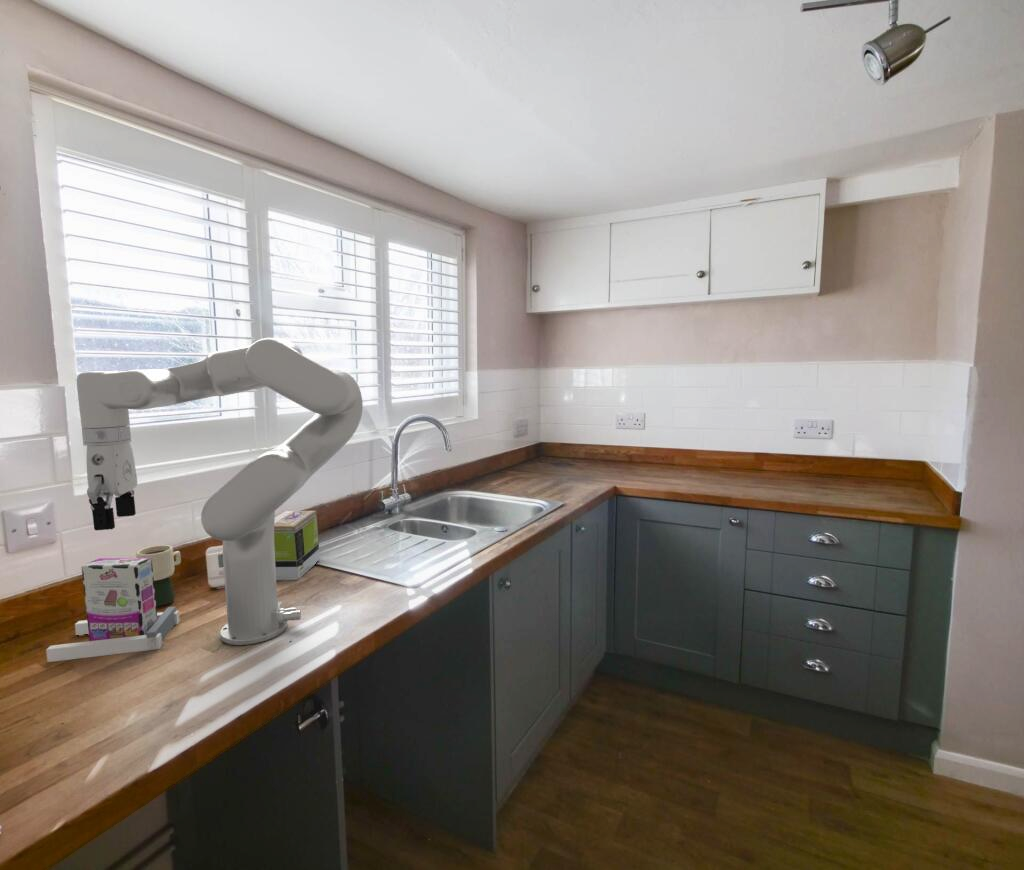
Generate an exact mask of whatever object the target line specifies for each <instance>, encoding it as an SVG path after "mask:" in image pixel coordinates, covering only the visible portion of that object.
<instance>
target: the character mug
mask: <svg viewBox="0 0 1024 870" xmlns="http://www.w3.org/2000/svg"><path fill="white" fill-rule="evenodd" d="M173 548H174V547H173V546H172V545H171V544H170V545H168V544H158V545H153V546H151V545H150V546H146V547H144V548H140V549H138V550H137V551H136V553H135V554H136V555H135V556H136V557H135V558H152V567H153V578H154V588H155V599H156V607H159V606H164V605H167V604H171V603H172V602H173V601H174V600H175V599H176V595H175V590H174V586H173V583H172V580H171V578H170V577H171V576H173V575H174V573H175V569H176V568H175V566H178V565H180V564H181V563H182V562H181V561H182V559H181V557H182V556H181V552H180V550H177V551H174V549H173ZM174 558H175V559H174Z"/></svg>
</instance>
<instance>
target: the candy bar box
mask: <svg viewBox="0 0 1024 870" xmlns="http://www.w3.org/2000/svg"><path fill="white" fill-rule="evenodd" d="M81 573H82V575H81V576H82V584H83V592H84V594H83V595H84V603H85V611H86V612H85V613H86V620H87V622H88V631H89V634H88V639H89V641H96V640H105V639H113V638H122V637H131V636H140V635H146V633H147V632H148V630H149V629H150V628H151V627H152V626H153V624H154V623H155V622H156V621H157V613H158V611H157V606H156V599H155V588H154V578H153V567H152V558H136V557H115V558H109V557H108V558H107V557H106V558H105V557H104V558H102V557H101V558H97V559H95V560H92V561H90V562H88V563H86V564H83V565H81Z"/></svg>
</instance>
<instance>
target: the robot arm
mask: <svg viewBox="0 0 1024 870" xmlns="http://www.w3.org/2000/svg"><path fill="white" fill-rule="evenodd" d="M262 388H268V389H270V390H272V391H274V393H275V392H276V393H278V394H279V395H281V396H283V397H284V398H286V399H288V400H290V401H292V402H294V403H295V404H297V405H299V406H301V407H303V408H304V409H307V410H308V411H310V412H312V413H315V414H314V415H313V416H312V417H311V418H310V419H309V420H308V421H307V422H305V423H304V424H303V425H302V426H301V427H299V429H298V430H296V431H295V432H294V433H293V434H292V435H290V437H288V438H287V439H286V440H285V441H283V442H282V443H281V444H280V445H277V446H276V447H274V448H272V449H270V450H268V451H265V452H264V453H262V454H260V455H258V456H257V457H255V458H254V459H253V460H252V461H250V462H249V463H248V464H247V465H246V466H245V467H243V468H242V469H241V470H240V471H238V473H236V474H235V475H234V476H233V477H232V478H230V480H228V481H227V482H226V483H225V484H223V486H222V487H221V488H220V489H218V490H217V491H216V492H215V493H214V494H212V495H211V496H210V497H209V498H208V499H207V501H205V503H204V505H203V507H202V510H201V514H200V515H201V516H200V517H201V519H200V520H201V525H202V528H203V529H204V532H205V533H206V534H207V535H208V536H209V537H211V538H213V539H214V540H217V541H221V542H222V560H223V564H222V565H223V577H224V588H225V589H224V590H225V591H224V592H225V605H226V614H227V615H226V617H227V623H226V624H224V626H222V628H221V629H220V630H219V638H220V640H221V641H222V642H223V643H225V644H228V645H233V646H244V645H245V646H246V645H253V644H258V643H262V642H266V641H269V640H270V639H273V638H275V637H277V636H278V635H280V634H282V633H283V632H284V631H285V630H286V628H287V626H288V621H291V622H292V621H300V620H301V619H302V611H301V609H300V610H297V607H296V606H295V607H289V608H285V607H284V606H283V607H282V601H279V599H278V586H277V584H278V583H277V580H276V566H275V545H274V521H275V515H276V511H277V510H278V509H279V508H280V507H281V506H283V505H284V503H286V502H287V501H288V500H289V499H290V498H291V497H293V496H294V495H295V494H296V493H297V492H298V491H300V490H301V488H302V487H303V486H304V485H305V484H306V482H308V480H310V478H311V477H312V476H313V475H314V474H315V473H317V471H318V470H320V469H321V468H322V467H323V466H324V465H325V464H326V463H328V461H329V460H331V458H333V456H335V455H336V454H337V453H338V452H339V451H340V450H341V449H342V448H343V447H344V446H345V445H346V444H348V442H349V441H350V440H351V438H352V437H353V436H354V434H355V433H356V431H357V429H358V427H359V425H360V422H361V420H362V415H363V407H364V406H363V396H362V392H361V389H360V387H359V384H358V382H357V381H356V380H355V379H354V377H353V376H352V375H351V374H349V373H348V372H346V371H343V370H337V369H329V368H327V367H325V366H324V365H322V364H320V363H318V362H316V361H314V360H313V359H311V358H309V357H307V356H306V355H304V354H303V352H302V351H301V349H300V348H299V346H297V345H296V344H295V343H293V342H292V341H290V340H287V339H283V338H282V339H281V338H275V337H265V338H261V339H258V340H256V341H255V342H253V343H252V344H250V345H244V346H241V347H235V348H229V349H224V350H218V351H214V352H211V353H208V354H207V356H206V357H205V358H204V359H201V360H199V361H196V362H192V363H188V364H183V365H177V366H172V367H168V368H160V369H153V368H152V369H131V370H124V371H115V370H114V371H111V370H103V371H101V370H100V371H99V370H97V371H95V370H94V371H83V372H80V373H79V374H78V375H77V376H76V389H77V399H78V400H77V401H78V408H79V409H78V410H79V416H80V425H81V437H82V445H83V446H86V477H87V486H88V487H87V489H86V495H87V496H88V503H89V504H90V509H91V513H92V523H93V529H94V530H95V531H106V530H107V531H108V530H113V529H115V527H116V523H115V522H116V521H115V513H114V508H113V507H112V506H111V505H112V502H113V498H114V500H115V501H114V502H115V509H116V516H117V517H119V518H122V517H134V516H135V515H136V513H137V512H136V503H135V502H136V501H135V490H134V489H136V487H137V486H138V477H137V469H136V463H135V457H134V453H133V447H132V445H131V443H132V436H131V434H132V432H131V425H130V423H131V421H130V415H129V414H130V413H129V412H130V411H129V410H136V411H141V410H142V411H143V410H149V409H150V410H151V409H155V408H162V407H169V406H173V405H177V404H182V403H187V402H188V403H189V402H193V401H198V400H201V399H207V398H211V397H225V396H229V395H234V394H240V393H244V392H248V391H252V390H258V389H262ZM114 496H116V497H114ZM104 499H105V500H104Z"/></svg>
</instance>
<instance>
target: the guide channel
mask: <svg viewBox="0 0 1024 870" xmlns="http://www.w3.org/2000/svg"><path fill="white" fill-rule="evenodd" d="M179 611H180V610H177V607H176V606H174V605H173V606H167V608H166V609H165V610H164V611H161V612H160V611H159V612H157V621H156V622H155V623H154V624H153V626H152V627H151V628H150V629H149V630H148V632H147V633H146V635H140V636H131V637H122V638H113V639H105V640H96V641H80V642H71V643H63V644H61V643H60V644H54V645H49V647H48V648H46V650H45V651H46V660H47V663H51V662H60V661H70V660H77V659H86V658H87V659H88V658H93V657H94V658H95V657H102V656H110V655H119V654H127V653H136V652H144V651H151V650H154V651H155V650H160V649H161V648H162V646H163V641H164V640H165V639H166V638H167V636H168V635H169V633H170V632H171V630H172V629H173V628H174V627H175V626H178V624H179V623H180V612H179ZM74 627H75V628H74V629H75V630H74V631H75V636H76V635H79V636H85V635H84V634H88V635H89V631H88V622H87V619H85V620H78V621H77V622H76V623H74Z"/></svg>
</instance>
